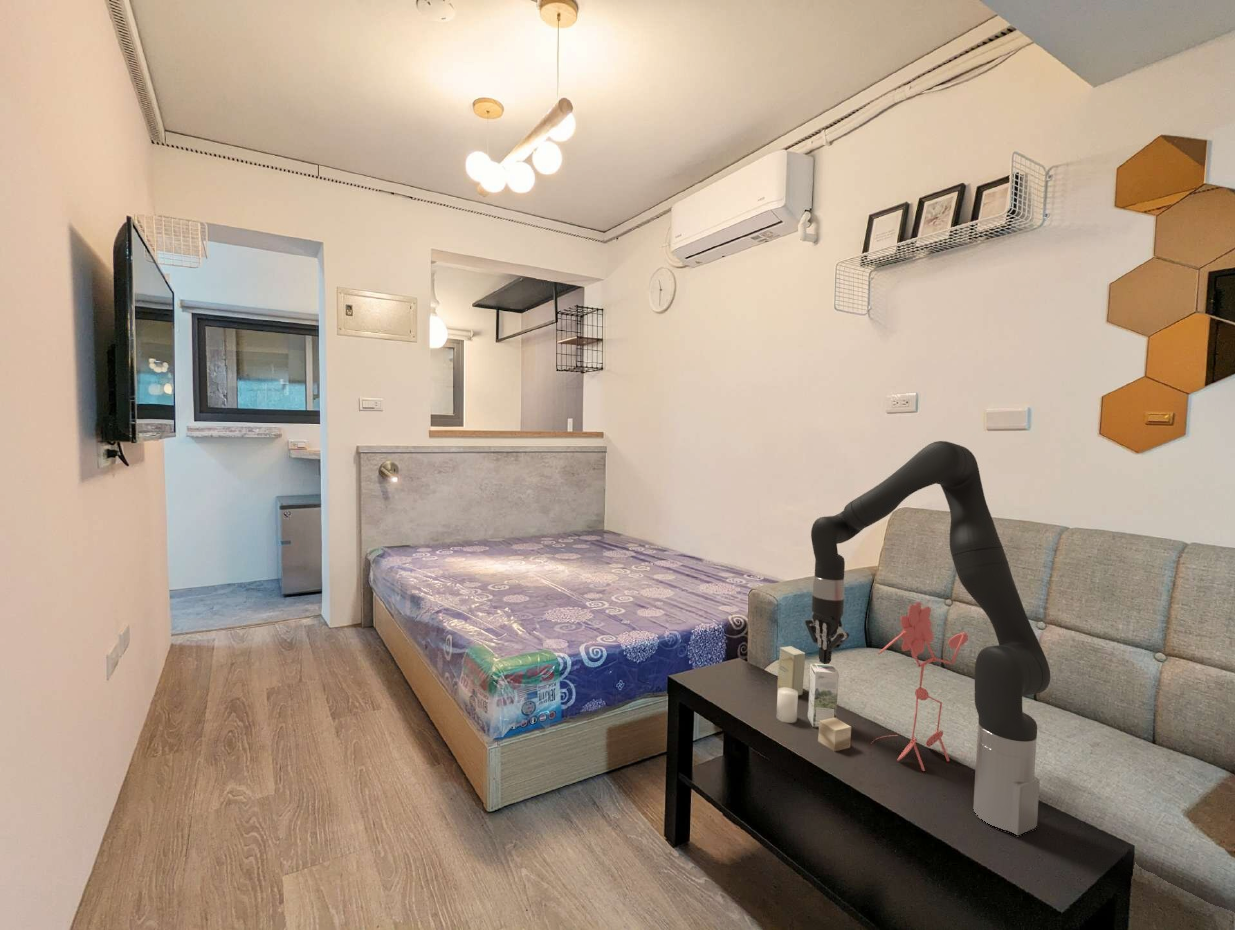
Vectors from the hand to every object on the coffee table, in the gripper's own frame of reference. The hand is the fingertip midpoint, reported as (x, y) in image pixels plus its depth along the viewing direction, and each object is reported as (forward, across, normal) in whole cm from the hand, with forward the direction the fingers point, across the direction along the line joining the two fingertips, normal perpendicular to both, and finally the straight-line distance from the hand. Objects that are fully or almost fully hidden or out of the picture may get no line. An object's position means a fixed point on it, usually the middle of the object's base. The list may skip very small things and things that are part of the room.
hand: (824, 662), depth 146 cm
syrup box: (+16, 0, 0) cm, 16 cm away
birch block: (+16, -9, +5) cm, 19 cm away
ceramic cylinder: (+16, +5, +7) cm, 18 cm away
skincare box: (+16, +18, -6) cm, 25 cm away
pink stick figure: (+16, -18, -9) cm, 26 cm away
